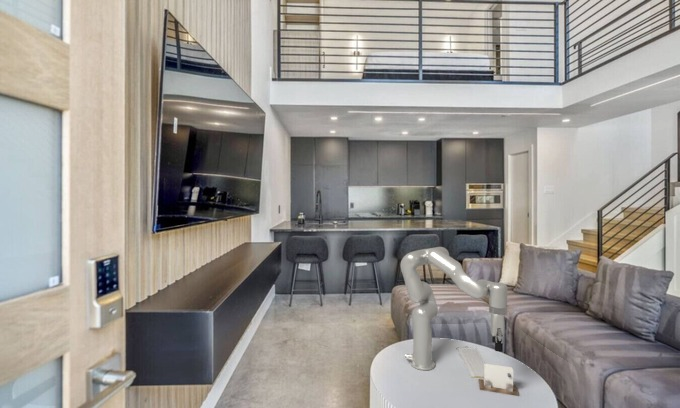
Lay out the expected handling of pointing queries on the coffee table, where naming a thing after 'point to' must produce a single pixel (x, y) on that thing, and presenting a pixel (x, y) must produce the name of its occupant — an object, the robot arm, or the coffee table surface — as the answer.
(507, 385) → the hinge mount
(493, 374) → the cabinet door
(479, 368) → the baseboard molding
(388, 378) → the coffee table surface
